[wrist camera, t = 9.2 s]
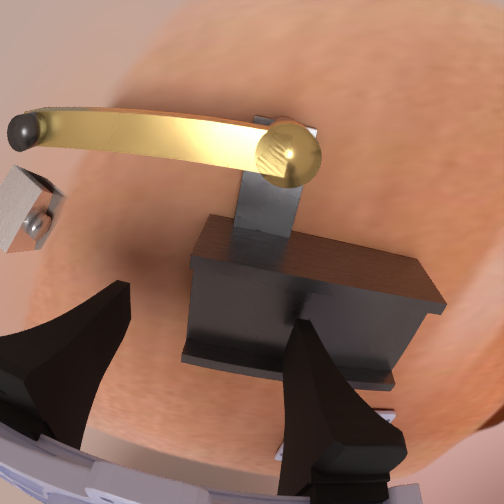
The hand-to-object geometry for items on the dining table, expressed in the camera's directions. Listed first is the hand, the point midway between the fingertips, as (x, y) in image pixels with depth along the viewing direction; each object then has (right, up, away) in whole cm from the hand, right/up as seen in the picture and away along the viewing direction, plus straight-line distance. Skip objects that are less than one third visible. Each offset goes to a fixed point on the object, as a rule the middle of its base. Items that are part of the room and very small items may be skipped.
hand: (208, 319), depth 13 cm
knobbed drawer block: (-13, +6, +2) cm, 14 cm away
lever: (-1, +7, -4) cm, 8 cm away
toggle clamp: (+5, +3, +2) cm, 6 cm away
